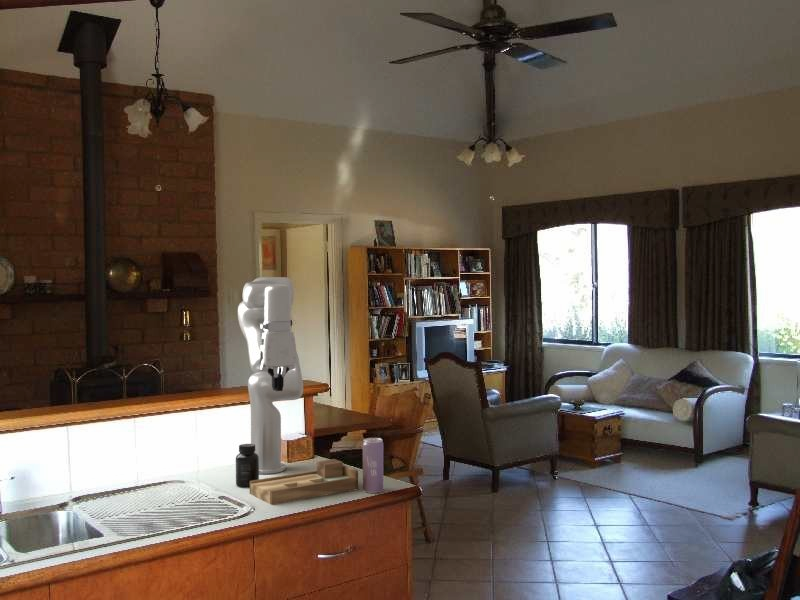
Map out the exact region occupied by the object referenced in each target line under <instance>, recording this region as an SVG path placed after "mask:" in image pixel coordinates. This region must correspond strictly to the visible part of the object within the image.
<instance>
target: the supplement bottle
mask: <svg viewBox="0 0 800 600" xmlns="http://www.w3.org/2000/svg"><path fill="white" fill-rule="evenodd" d="M255 451H256V449H255V444H251V443H242V444H239V446H238V452H239V453H238V454H237V455H236V456H235V485H236V486H237V487H239V488H250V481H253V480H259V479H260V474H259V456H258V455H257V454H256V453H255Z"/></svg>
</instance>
